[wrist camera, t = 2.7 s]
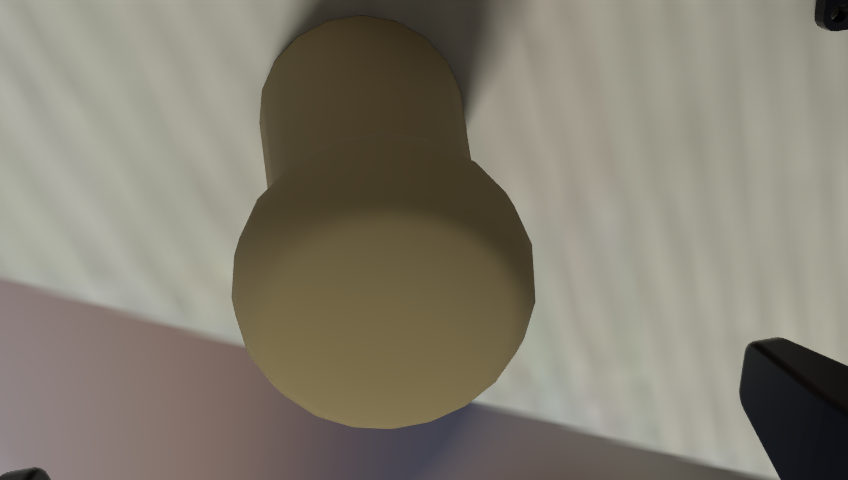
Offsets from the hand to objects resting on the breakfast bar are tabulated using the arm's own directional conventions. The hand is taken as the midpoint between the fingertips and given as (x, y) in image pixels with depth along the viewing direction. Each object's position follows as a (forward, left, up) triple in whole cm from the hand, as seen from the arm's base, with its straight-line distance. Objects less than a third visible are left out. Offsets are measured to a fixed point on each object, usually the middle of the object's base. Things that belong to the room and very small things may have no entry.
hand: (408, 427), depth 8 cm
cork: (0, 0, -13) cm, 13 cm away
